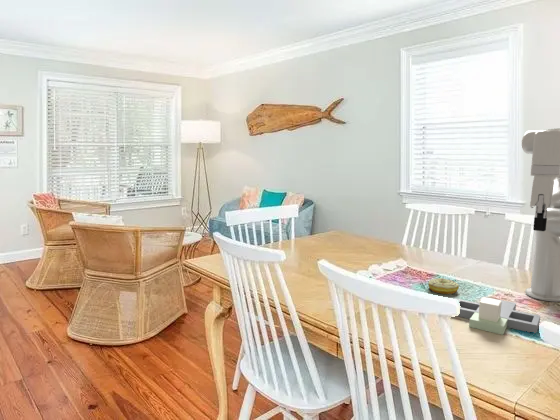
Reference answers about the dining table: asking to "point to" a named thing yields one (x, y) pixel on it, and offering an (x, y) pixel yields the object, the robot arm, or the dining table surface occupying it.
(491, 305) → the cream block
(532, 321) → the board
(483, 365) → the dining table surface
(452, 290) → the decorated donut
